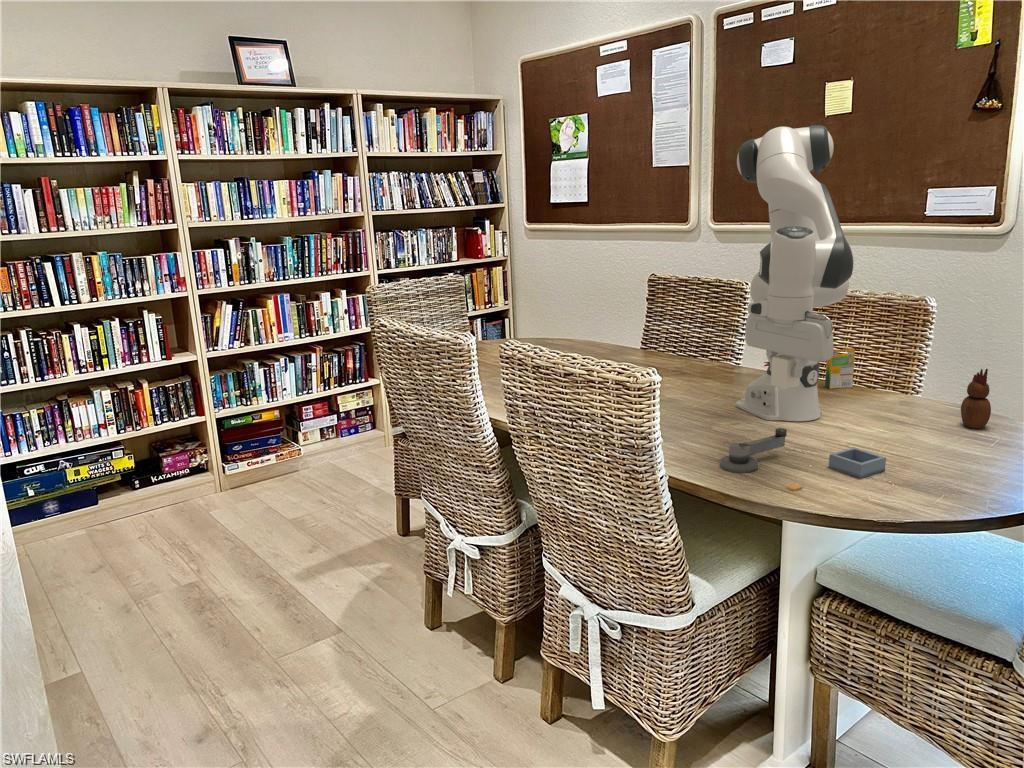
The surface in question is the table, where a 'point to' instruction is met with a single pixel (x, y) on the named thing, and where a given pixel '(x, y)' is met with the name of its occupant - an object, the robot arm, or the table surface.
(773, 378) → the cream block
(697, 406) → the table surface
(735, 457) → the crank arm
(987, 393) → the wooden figurine
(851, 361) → the crayon box
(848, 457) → the tray
